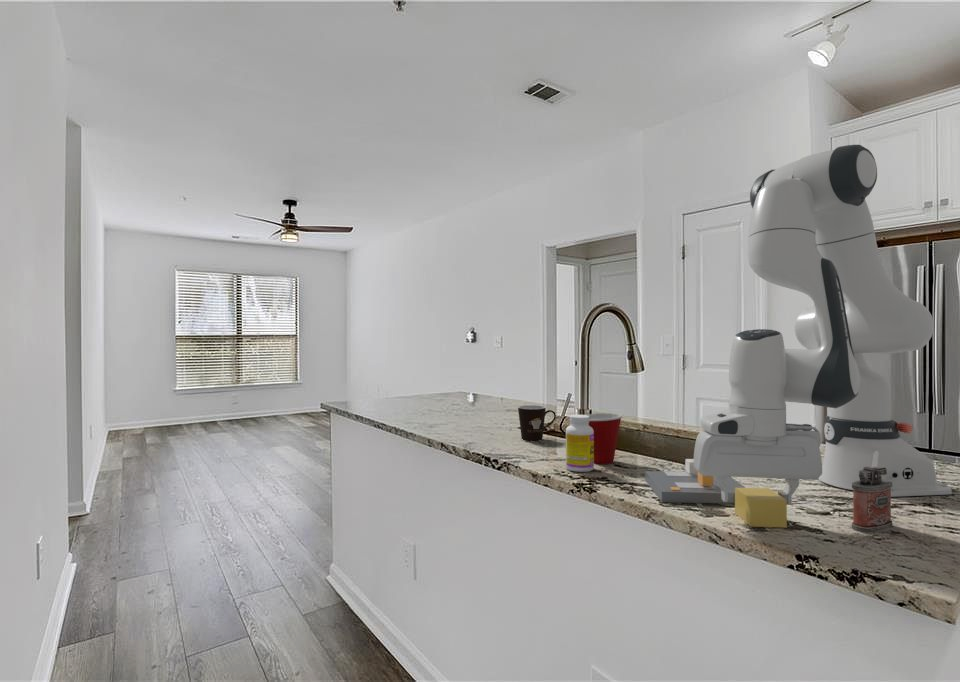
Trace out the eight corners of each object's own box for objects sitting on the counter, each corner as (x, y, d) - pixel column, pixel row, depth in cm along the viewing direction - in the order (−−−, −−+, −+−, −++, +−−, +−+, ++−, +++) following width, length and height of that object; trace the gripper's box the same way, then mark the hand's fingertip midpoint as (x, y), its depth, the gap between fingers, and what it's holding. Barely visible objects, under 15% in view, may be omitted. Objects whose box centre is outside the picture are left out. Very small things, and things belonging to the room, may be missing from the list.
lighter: (868, 534, 83) (868, 472, 83) (846, 527, 86) (846, 467, 86) (898, 527, 86) (898, 467, 86) (875, 520, 89) (875, 462, 89)
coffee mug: (516, 441, 156) (516, 408, 156) (519, 436, 165) (519, 405, 165) (555, 442, 155) (555, 409, 154) (556, 437, 163) (555, 405, 163)
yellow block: (768, 513, 93) (768, 488, 93) (786, 527, 86) (786, 500, 86) (734, 512, 93) (734, 487, 93) (750, 526, 87) (750, 499, 87)
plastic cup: (584, 454, 139) (584, 410, 139) (626, 458, 134) (625, 412, 134) (574, 464, 129) (574, 416, 129) (618, 468, 125) (618, 419, 124)
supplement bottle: (594, 473, 121) (593, 418, 120) (565, 472, 122) (565, 417, 122) (593, 466, 127) (593, 414, 127) (566, 465, 128) (566, 413, 128)
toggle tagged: (708, 481, 105) (707, 469, 105) (713, 485, 102) (713, 473, 102) (697, 481, 105) (697, 468, 105) (702, 485, 102) (702, 472, 102)
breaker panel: (724, 481, 113) (724, 471, 113) (754, 504, 98) (754, 492, 98) (644, 480, 115) (644, 470, 115) (661, 502, 100) (661, 490, 100)
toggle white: (694, 470, 113) (694, 459, 113) (699, 474, 110) (699, 462, 110) (685, 470, 113) (685, 458, 113) (689, 473, 110) (689, 462, 110)
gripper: (810, 421, 92) (810, 499, 92) (691, 418, 94) (690, 494, 94) (830, 427, 85) (829, 510, 86) (702, 424, 88) (701, 505, 88)
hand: (755, 502), depth 90 cm, fingers open, 8 cm apart
